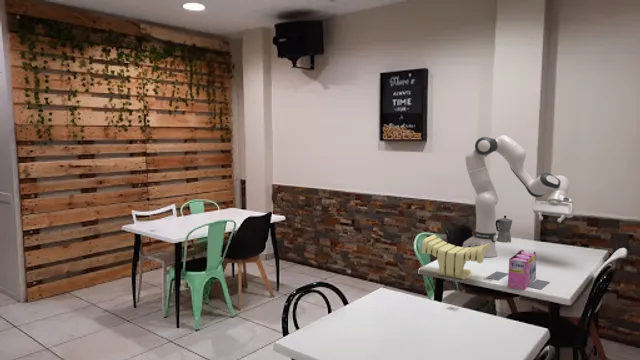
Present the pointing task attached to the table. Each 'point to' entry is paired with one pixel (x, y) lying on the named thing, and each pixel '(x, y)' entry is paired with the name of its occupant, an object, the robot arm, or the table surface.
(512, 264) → the gum box
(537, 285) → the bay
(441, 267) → the slatted curved stool
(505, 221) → the coffeepot
